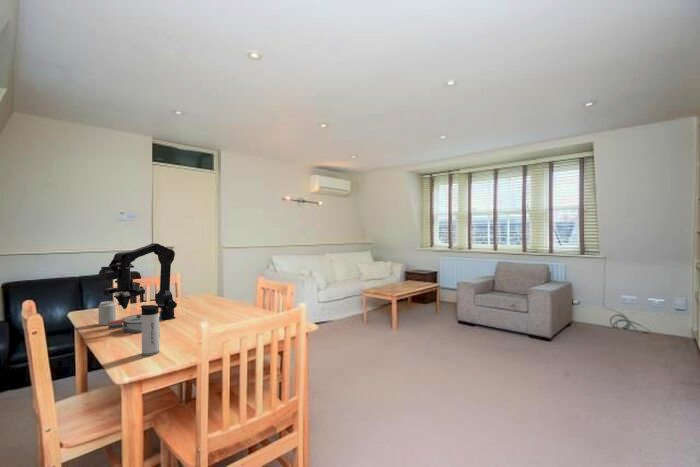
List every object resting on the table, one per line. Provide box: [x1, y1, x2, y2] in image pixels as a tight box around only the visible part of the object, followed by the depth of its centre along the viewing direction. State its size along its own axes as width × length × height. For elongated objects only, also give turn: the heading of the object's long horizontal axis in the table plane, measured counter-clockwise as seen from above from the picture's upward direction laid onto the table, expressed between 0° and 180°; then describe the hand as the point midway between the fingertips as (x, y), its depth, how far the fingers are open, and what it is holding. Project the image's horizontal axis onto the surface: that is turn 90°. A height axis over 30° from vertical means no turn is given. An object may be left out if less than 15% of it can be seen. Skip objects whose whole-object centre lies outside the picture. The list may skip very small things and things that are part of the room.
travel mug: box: [140, 304, 160, 357], centre depth 141 cm, size 6×7×20 cm
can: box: [97, 300, 117, 327], centre depth 183 cm, size 8×8×12 cm
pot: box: [107, 316, 163, 335], centre depth 173 cm, size 23×14×5 cm, turn 137°
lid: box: [107, 313, 142, 326], centre depth 172 cm, size 20×15×2 cm
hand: (125, 308), depth 170 cm, fingers closed
